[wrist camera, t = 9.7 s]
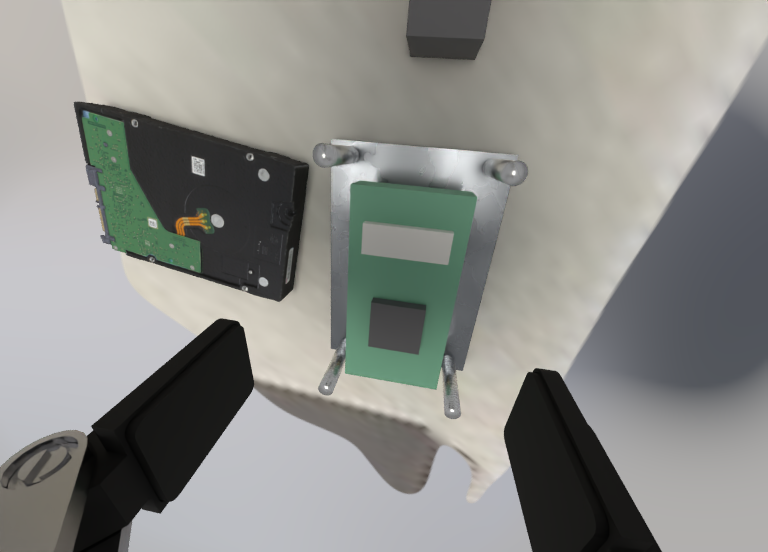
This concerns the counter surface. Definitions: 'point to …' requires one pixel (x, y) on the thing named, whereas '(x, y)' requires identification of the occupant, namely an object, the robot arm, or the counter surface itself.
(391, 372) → the board
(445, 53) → the block
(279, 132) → the counter surface
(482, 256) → the chassis
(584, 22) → the counter surface
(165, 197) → the disk drive
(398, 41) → the counter surface
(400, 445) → the counter surface
